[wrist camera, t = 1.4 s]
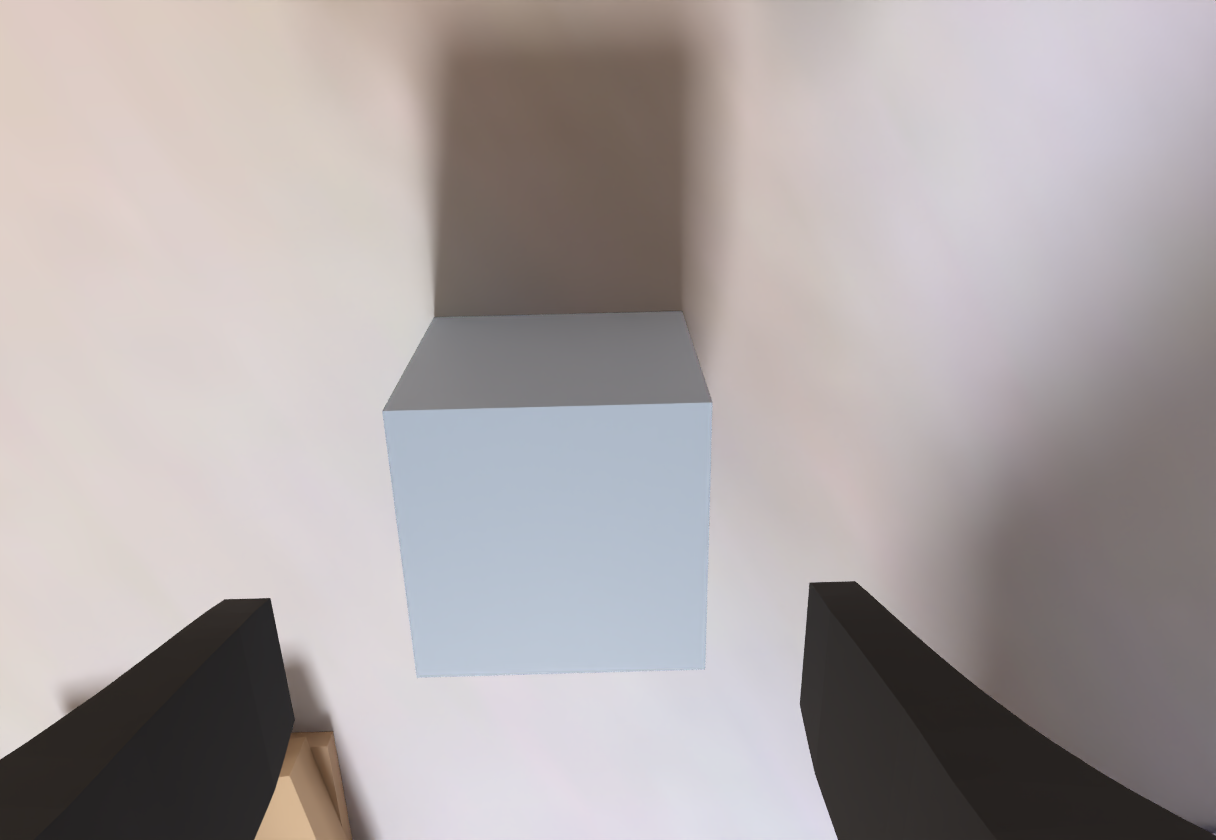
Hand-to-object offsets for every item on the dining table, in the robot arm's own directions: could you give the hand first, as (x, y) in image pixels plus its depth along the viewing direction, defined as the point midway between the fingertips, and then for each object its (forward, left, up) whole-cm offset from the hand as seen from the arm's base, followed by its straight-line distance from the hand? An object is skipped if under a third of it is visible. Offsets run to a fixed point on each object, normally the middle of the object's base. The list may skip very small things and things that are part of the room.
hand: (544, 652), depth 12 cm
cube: (0, 0, -8) cm, 8 cm away
